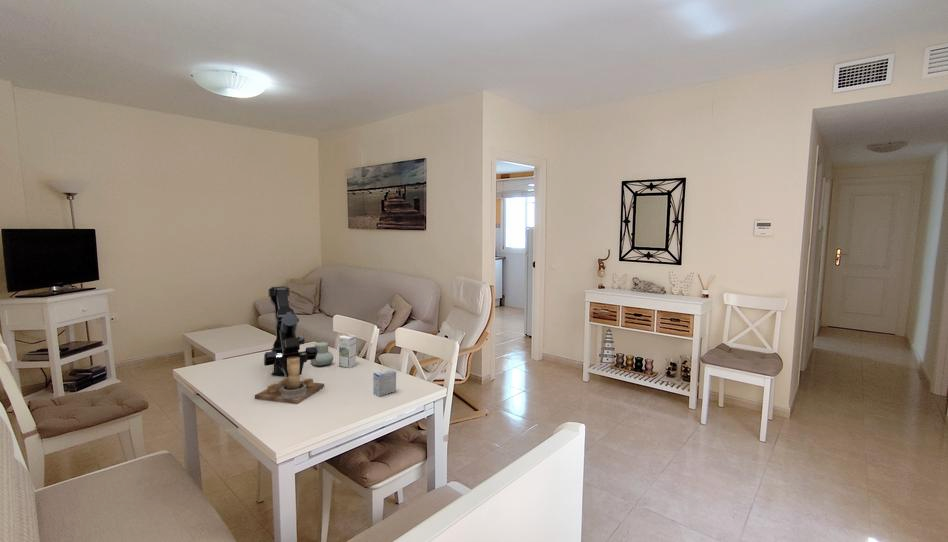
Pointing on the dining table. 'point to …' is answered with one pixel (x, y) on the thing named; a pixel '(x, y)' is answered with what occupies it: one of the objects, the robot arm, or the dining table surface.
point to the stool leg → (293, 373)
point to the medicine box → (384, 382)
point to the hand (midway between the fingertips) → (294, 375)
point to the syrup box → (347, 351)
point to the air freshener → (322, 355)
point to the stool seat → (289, 391)
